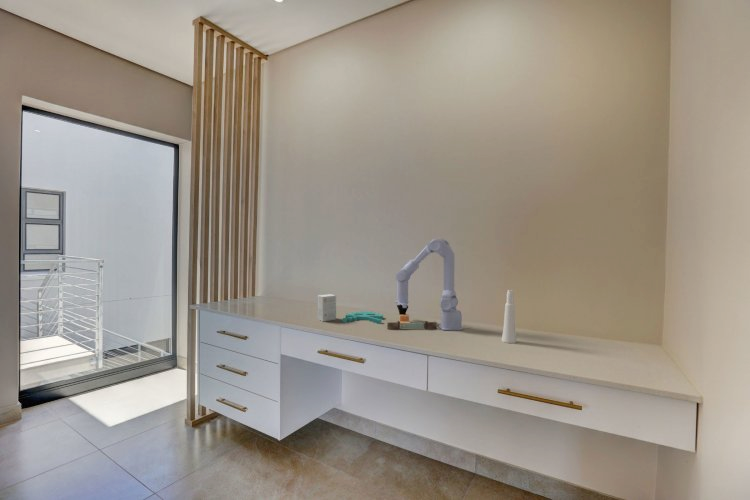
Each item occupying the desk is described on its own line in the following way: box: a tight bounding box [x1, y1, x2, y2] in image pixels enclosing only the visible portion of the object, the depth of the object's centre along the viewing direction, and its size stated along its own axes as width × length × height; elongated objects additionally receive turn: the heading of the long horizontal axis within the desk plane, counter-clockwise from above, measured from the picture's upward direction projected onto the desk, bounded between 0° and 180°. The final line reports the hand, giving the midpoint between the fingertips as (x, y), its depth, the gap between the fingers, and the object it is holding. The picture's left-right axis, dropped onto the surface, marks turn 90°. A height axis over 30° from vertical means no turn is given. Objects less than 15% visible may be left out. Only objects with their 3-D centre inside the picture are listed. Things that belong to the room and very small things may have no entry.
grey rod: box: [400, 322, 425, 329], centre depth 169 cm, size 12×2×2 cm, turn 95°
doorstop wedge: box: [398, 314, 411, 323], centre depth 177 cm, size 4×8×4 cm, turn 2°
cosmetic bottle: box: [501, 289, 518, 344], centre depth 150 cm, size 6×6×22 cm
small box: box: [316, 293, 337, 322], centre depth 186 cm, size 8×6×13 cm
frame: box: [386, 320, 438, 330], centre depth 169 cm, size 24×2×4 cm, turn 95°
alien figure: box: [341, 310, 384, 325], centre depth 189 cm, size 20×2×20 cm
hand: (402, 319), depth 183 cm, fingers closed
